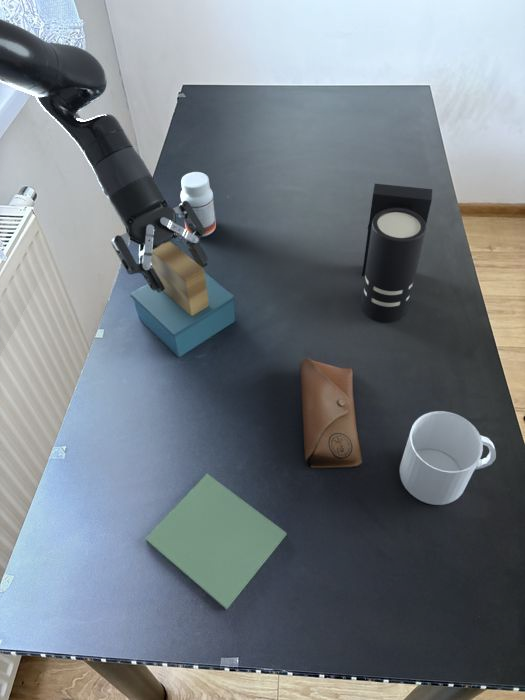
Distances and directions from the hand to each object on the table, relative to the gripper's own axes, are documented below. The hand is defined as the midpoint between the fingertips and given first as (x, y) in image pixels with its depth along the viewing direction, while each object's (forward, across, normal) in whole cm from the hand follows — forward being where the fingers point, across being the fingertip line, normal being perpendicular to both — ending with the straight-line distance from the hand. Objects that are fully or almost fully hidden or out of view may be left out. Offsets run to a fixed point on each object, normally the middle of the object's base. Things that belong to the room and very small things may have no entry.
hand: (183, 278), depth 94 cm
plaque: (+2, 0, +4) cm, 5 cm away
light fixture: (+20, +30, -5) cm, 36 cm away
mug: (+41, +8, -26) cm, 49 cm away
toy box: (+7, 0, +8) cm, 11 cm away
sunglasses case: (+28, +4, -13) cm, 31 cm away
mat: (+31, -20, -16) cm, 40 cm away
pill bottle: (-6, +17, +22) cm, 28 cm away
